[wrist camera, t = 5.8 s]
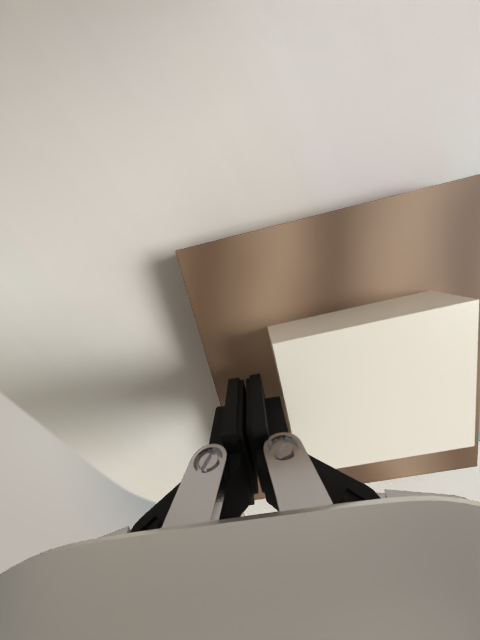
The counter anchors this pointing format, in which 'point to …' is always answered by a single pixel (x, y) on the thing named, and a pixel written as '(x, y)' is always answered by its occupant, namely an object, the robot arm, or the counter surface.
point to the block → (381, 378)
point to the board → (335, 286)
